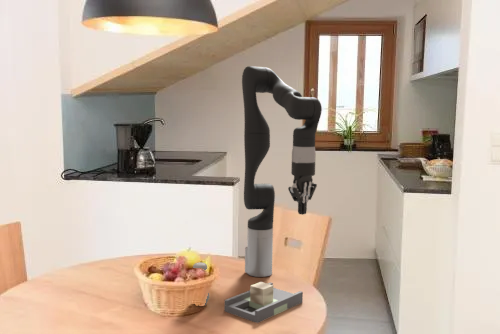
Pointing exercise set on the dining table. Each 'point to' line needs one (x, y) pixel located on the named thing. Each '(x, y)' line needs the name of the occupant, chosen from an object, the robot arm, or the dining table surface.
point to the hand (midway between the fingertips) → (302, 213)
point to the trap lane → (257, 312)
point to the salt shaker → (204, 266)
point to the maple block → (261, 293)
